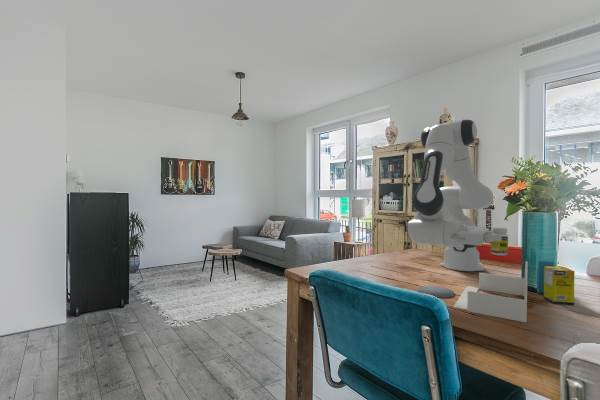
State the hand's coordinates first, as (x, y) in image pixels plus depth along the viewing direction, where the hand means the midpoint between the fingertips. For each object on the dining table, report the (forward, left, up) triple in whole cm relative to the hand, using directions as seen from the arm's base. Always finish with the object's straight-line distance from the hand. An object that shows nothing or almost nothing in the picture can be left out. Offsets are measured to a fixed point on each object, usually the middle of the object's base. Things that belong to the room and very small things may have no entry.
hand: (502, 237), depth 104 cm
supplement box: (-13, +15, -21) cm, 29 cm away
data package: (-25, +11, -21) cm, 35 cm away
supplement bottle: (0, -1, -6) cm, 6 cm away
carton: (0, -3, -21) cm, 21 cm away
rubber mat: (0, -20, -21) cm, 29 cm away
